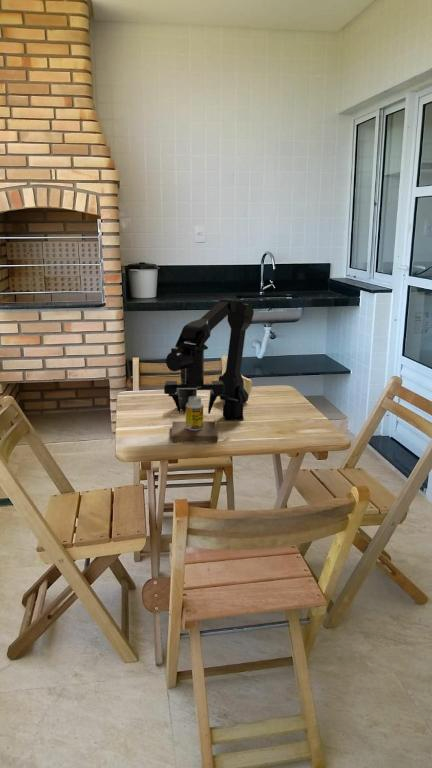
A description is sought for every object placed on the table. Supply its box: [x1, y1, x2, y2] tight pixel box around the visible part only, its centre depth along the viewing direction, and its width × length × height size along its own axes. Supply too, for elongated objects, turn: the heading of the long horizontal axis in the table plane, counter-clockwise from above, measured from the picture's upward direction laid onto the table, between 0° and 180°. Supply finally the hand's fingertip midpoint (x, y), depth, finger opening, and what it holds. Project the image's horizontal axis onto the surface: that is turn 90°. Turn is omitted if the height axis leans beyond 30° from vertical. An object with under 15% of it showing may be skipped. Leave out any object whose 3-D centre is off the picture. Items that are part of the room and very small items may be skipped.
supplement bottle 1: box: [178, 378, 198, 412], centre depth 213 cm, size 7×7×12 cm
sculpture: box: [222, 374, 253, 403], centre depth 222 cm, size 11×12×11 cm
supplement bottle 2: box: [185, 395, 204, 431], centre depth 186 cm, size 6×6×10 cm
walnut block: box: [171, 420, 218, 443], centre depth 187 cm, size 14×14×2 cm
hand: (194, 413), depth 186 cm, fingers open, 9 cm apart
